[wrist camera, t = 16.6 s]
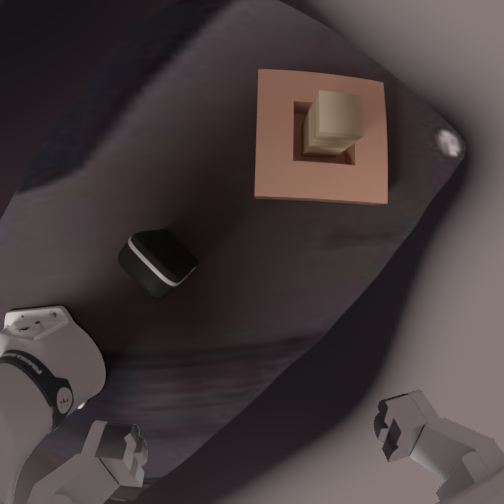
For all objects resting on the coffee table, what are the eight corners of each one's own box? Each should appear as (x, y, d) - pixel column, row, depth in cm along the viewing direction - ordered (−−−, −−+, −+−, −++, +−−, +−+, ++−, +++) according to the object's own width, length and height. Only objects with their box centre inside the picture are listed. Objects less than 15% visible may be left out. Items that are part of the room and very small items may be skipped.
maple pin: (301, 156, 37) (319, 131, 25) (301, 125, 36) (318, 90, 24) (333, 158, 37) (363, 136, 25) (333, 128, 36) (361, 95, 24)
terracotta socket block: (255, 198, 39) (254, 196, 33) (258, 88, 37) (258, 69, 31) (369, 204, 39) (387, 203, 33) (368, 98, 37) (383, 82, 31)
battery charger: (145, 247, 40) (106, 259, 29) (163, 226, 40) (128, 231, 28) (182, 283, 41) (155, 309, 29) (201, 263, 40) (179, 282, 29)
